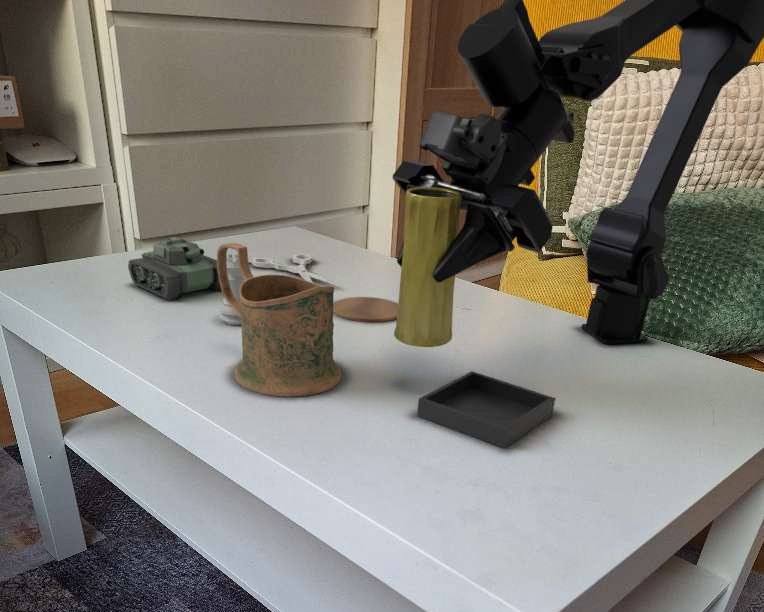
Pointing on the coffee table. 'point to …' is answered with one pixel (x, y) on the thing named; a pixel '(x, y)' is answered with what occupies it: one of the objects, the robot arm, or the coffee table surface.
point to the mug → (282, 331)
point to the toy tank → (174, 269)
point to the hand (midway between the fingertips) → (417, 272)
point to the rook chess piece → (235, 282)
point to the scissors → (299, 269)
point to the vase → (427, 267)
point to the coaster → (366, 309)
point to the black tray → (486, 408)
